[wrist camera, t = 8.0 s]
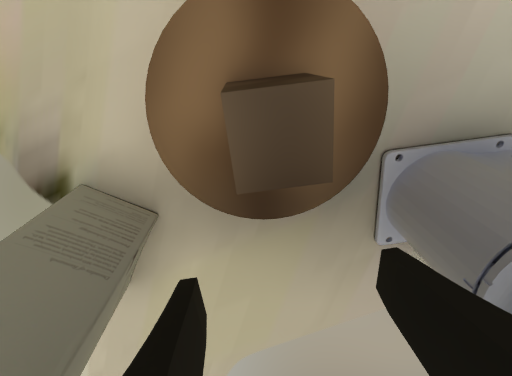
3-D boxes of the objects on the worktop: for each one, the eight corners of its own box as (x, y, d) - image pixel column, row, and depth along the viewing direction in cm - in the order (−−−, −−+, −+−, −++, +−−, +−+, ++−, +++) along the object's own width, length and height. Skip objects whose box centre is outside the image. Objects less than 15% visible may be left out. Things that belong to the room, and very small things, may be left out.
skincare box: (129, 284, 23) (-28, 608, 9) (53, 262, 21) (-262, 607, 8) (161, 208, 20) (-2, 523, 6) (75, 174, 18) (-378, 497, 5)
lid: (392, -44, 11) (496, -113, 6) (370, 199, 16) (420, 252, 11) (116, -10, 11) (33, -56, 6) (181, 222, 16) (159, 285, 11)
